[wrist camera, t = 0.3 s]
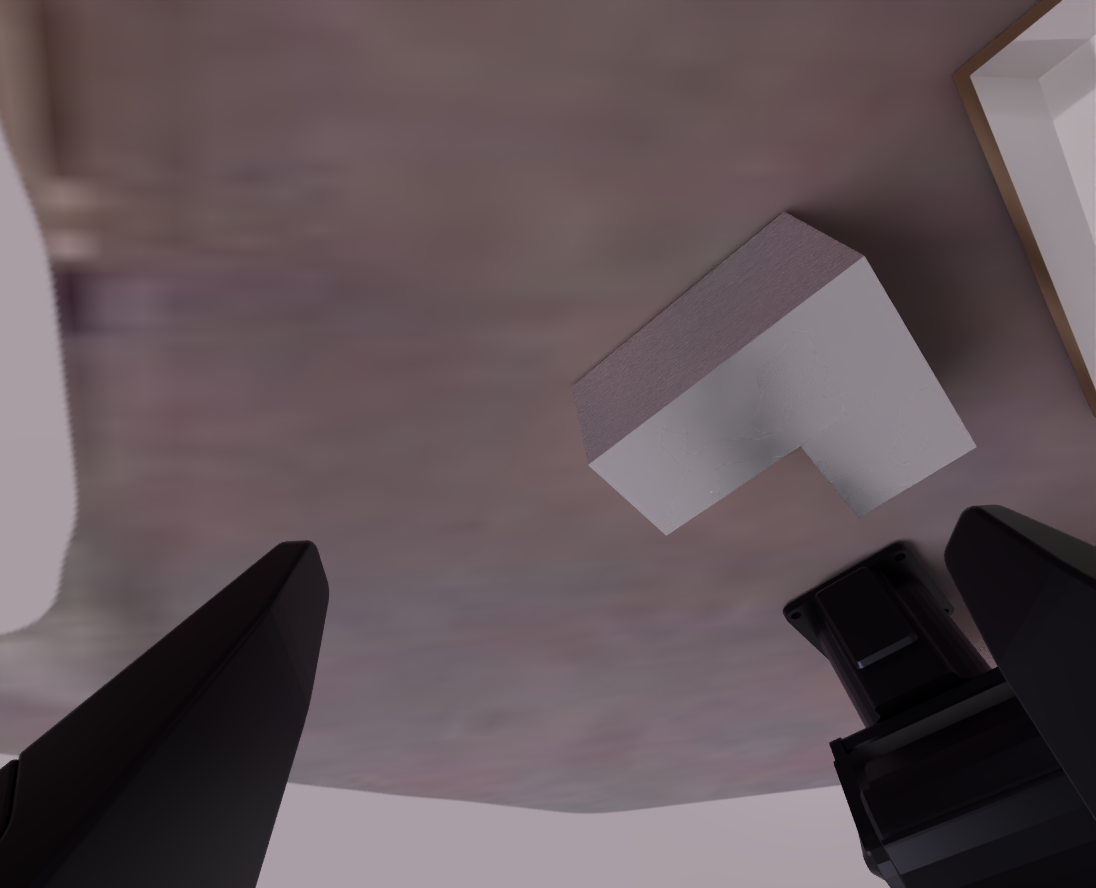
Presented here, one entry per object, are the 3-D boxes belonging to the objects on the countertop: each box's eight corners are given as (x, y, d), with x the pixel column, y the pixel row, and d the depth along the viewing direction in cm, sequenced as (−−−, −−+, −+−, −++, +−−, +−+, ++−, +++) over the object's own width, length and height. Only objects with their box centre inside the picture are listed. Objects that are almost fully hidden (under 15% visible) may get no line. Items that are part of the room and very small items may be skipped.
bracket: (783, 211, 19) (864, 255, 15) (887, 374, 22) (976, 446, 18) (571, 386, 22) (588, 464, 18) (693, 505, 25) (731, 594, 21)
